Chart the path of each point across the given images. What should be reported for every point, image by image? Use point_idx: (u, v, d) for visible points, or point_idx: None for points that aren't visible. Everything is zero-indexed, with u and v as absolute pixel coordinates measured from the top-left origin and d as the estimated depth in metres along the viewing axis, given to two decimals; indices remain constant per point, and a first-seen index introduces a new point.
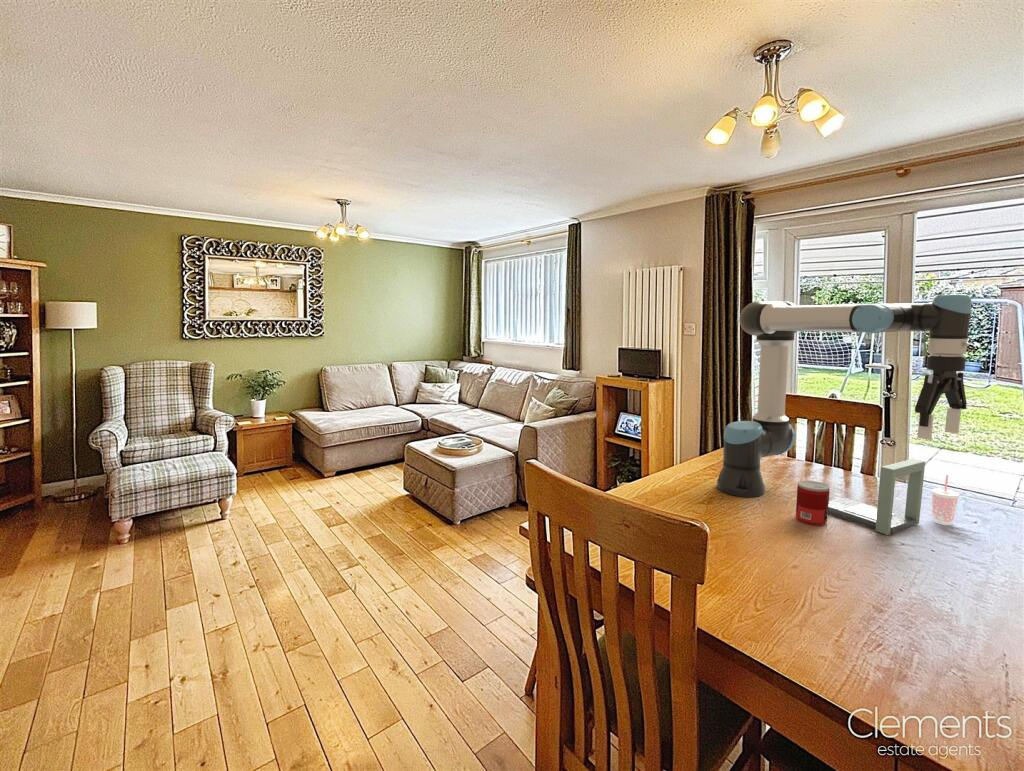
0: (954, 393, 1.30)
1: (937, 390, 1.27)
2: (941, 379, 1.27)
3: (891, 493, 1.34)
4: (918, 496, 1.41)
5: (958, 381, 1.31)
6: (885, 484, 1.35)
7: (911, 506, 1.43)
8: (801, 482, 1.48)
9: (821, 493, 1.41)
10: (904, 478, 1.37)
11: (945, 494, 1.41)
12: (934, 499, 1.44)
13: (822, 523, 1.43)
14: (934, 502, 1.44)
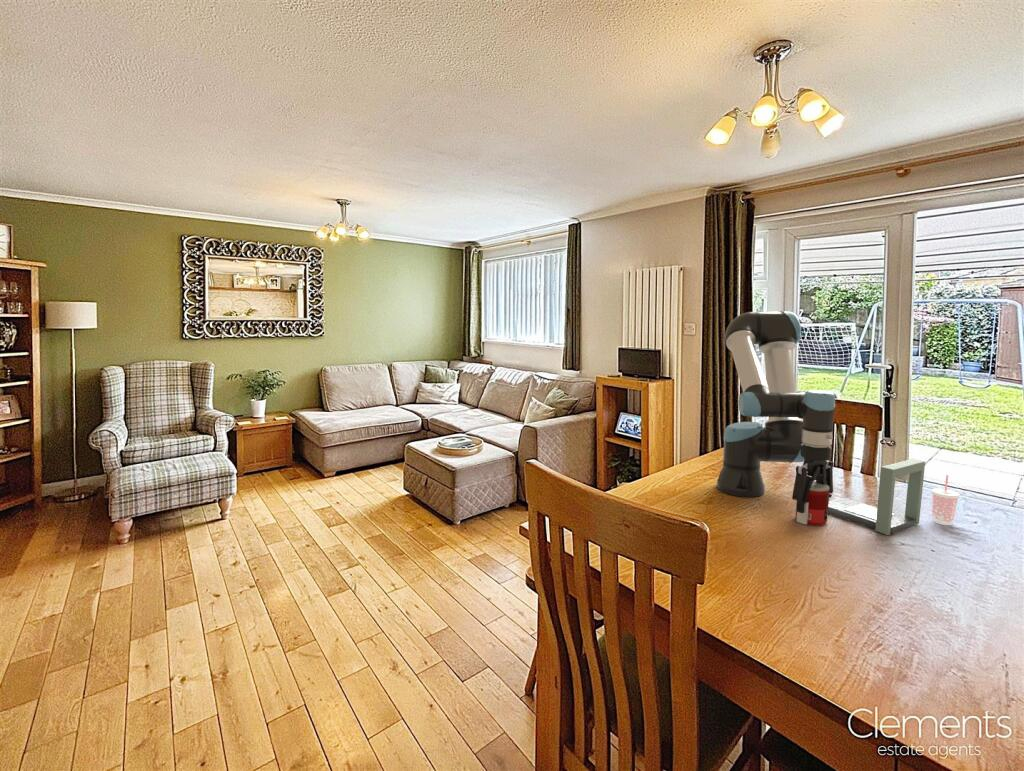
0: (822, 480, 1.45)
1: (809, 478, 1.43)
2: (810, 467, 1.42)
3: (891, 493, 1.34)
4: (918, 496, 1.41)
5: (828, 469, 1.46)
6: (885, 484, 1.35)
7: (911, 506, 1.43)
8: None
9: (821, 493, 1.41)
10: (904, 478, 1.37)
11: (945, 494, 1.41)
12: (934, 499, 1.44)
13: (822, 523, 1.43)
14: (934, 502, 1.44)
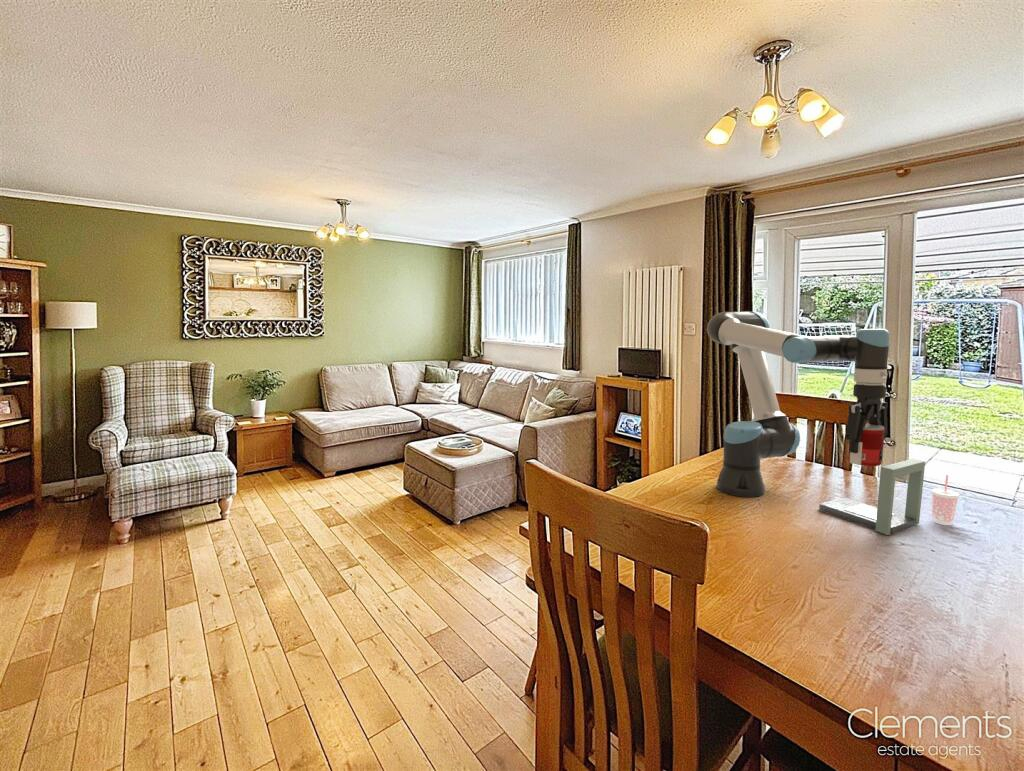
0: (876, 420, 1.43)
1: (862, 418, 1.41)
2: (864, 406, 1.40)
3: (891, 493, 1.34)
4: (918, 496, 1.41)
5: (882, 410, 1.44)
6: (885, 484, 1.35)
7: (911, 506, 1.43)
8: None
9: (876, 432, 1.39)
10: (904, 478, 1.37)
11: (945, 494, 1.41)
12: (934, 499, 1.44)
13: (877, 463, 1.40)
14: (934, 502, 1.44)
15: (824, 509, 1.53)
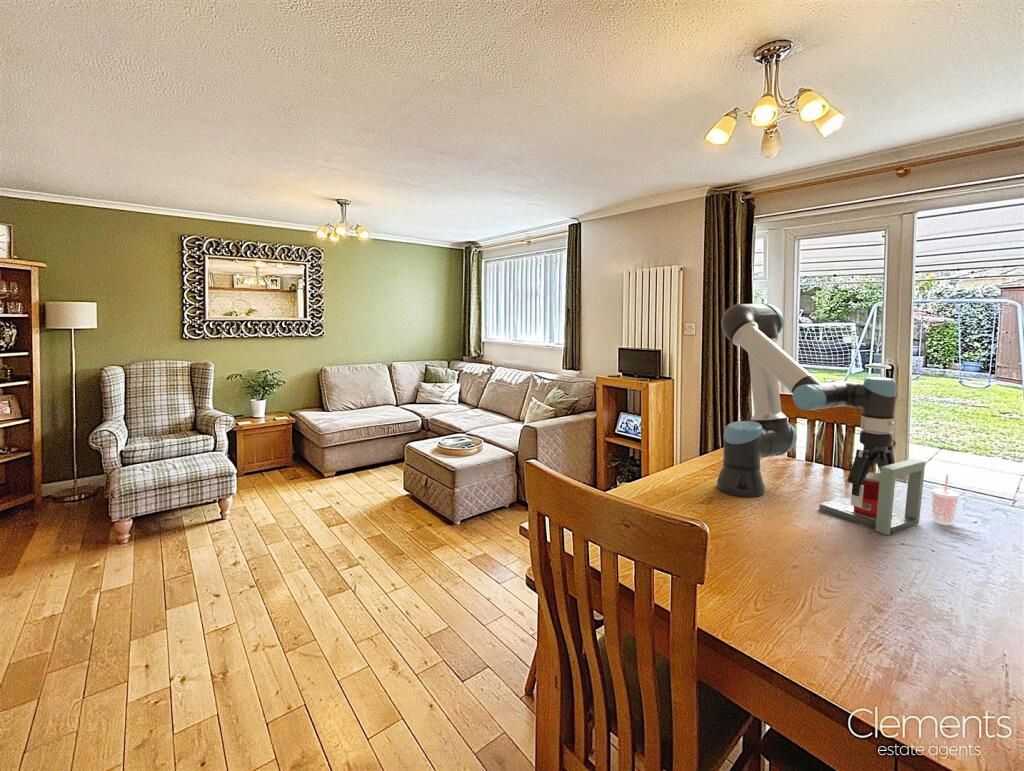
0: (884, 464, 1.46)
1: (867, 463, 1.42)
2: (870, 453, 1.42)
3: (891, 493, 1.34)
4: (918, 496, 1.41)
5: (888, 453, 1.46)
6: (885, 484, 1.35)
7: (911, 506, 1.43)
8: None
9: None
10: (904, 478, 1.37)
11: (945, 494, 1.41)
12: (934, 499, 1.44)
13: None
14: (934, 502, 1.44)
15: (824, 509, 1.53)
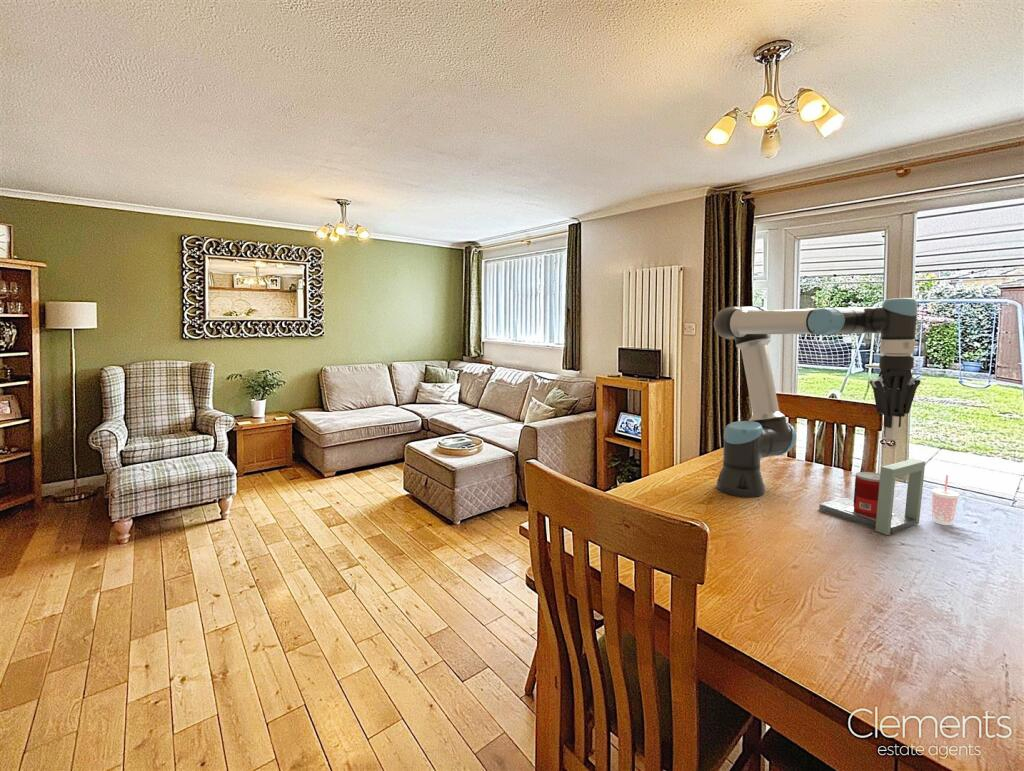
0: (899, 394, 1.38)
1: (889, 391, 1.38)
2: (886, 378, 1.37)
3: (891, 493, 1.34)
4: (918, 496, 1.41)
5: (911, 386, 1.38)
6: (885, 484, 1.35)
7: (911, 506, 1.43)
8: (859, 473, 1.48)
9: None
10: (904, 478, 1.37)
11: (945, 494, 1.41)
12: (934, 499, 1.44)
13: None
14: (934, 502, 1.44)
15: (824, 509, 1.53)
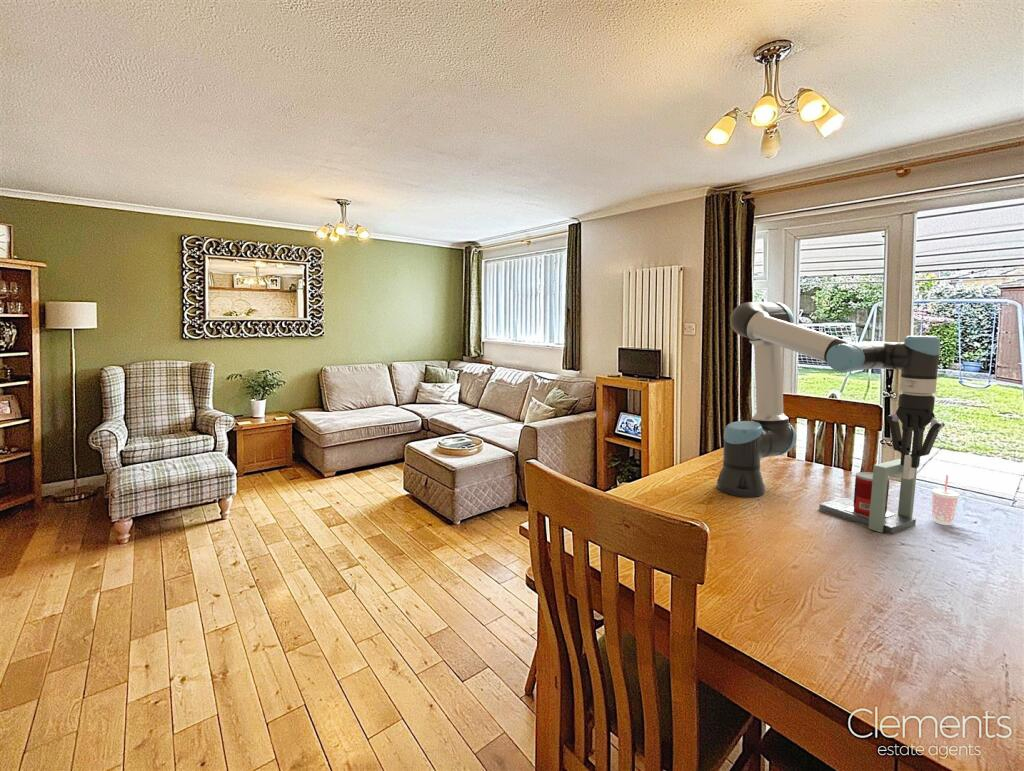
0: None
1: None
2: (898, 414, 1.37)
3: (884, 491, 1.36)
4: (911, 494, 1.43)
5: None
6: (878, 482, 1.37)
7: (904, 504, 1.44)
8: (859, 473, 1.48)
9: None
10: (897, 476, 1.39)
11: (945, 494, 1.41)
12: (934, 499, 1.44)
13: None
14: (934, 502, 1.44)
15: (824, 509, 1.53)
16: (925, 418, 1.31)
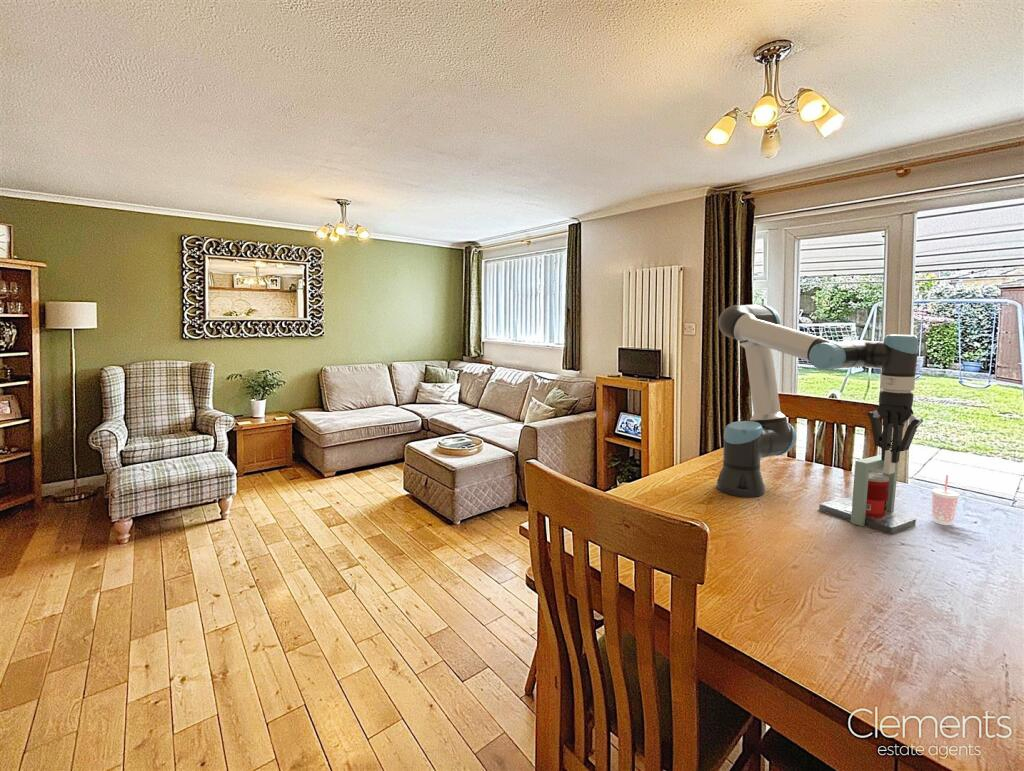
0: None
1: None
2: (878, 411, 1.42)
3: (865, 486, 1.40)
4: (892, 489, 1.47)
5: None
6: (859, 477, 1.41)
7: None
8: None
9: (882, 484, 1.42)
10: (878, 472, 1.43)
11: (945, 494, 1.41)
12: (934, 499, 1.44)
13: (882, 514, 1.43)
14: (934, 502, 1.44)
15: (824, 509, 1.53)
16: (904, 414, 1.36)
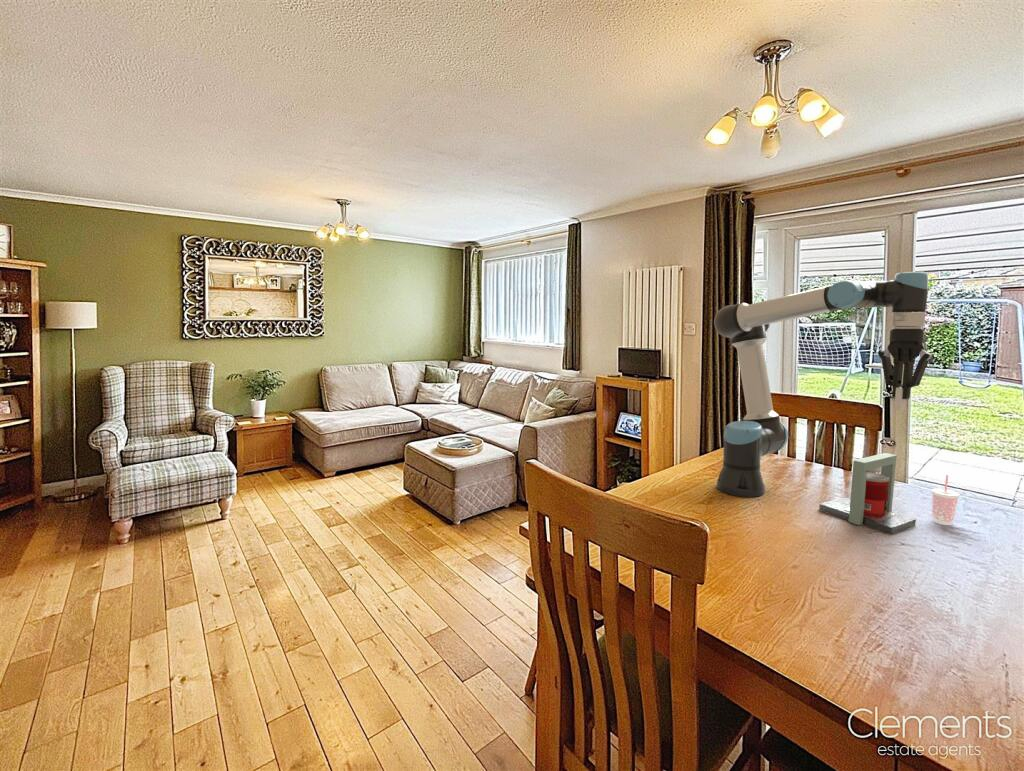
0: None
1: None
2: (889, 349, 1.44)
3: (863, 486, 1.41)
4: (890, 488, 1.47)
5: None
6: (857, 476, 1.42)
7: None
8: None
9: (882, 484, 1.42)
10: (876, 471, 1.43)
11: (945, 494, 1.41)
12: (934, 499, 1.44)
13: (882, 514, 1.43)
14: (934, 502, 1.44)
15: (824, 509, 1.53)
16: (915, 350, 1.38)
